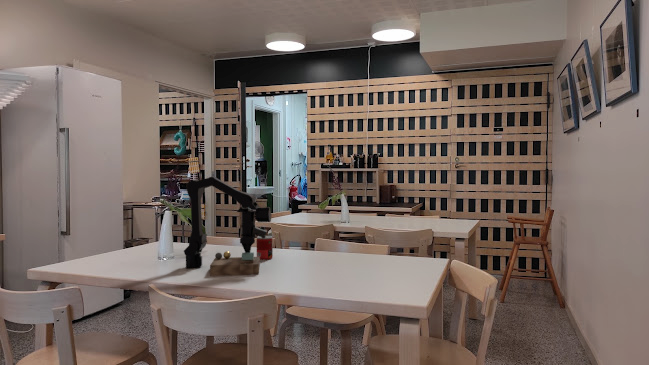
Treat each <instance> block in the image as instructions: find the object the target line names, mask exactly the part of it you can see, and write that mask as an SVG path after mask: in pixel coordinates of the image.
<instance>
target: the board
mask: <svg viewBox="0 0 649 365" xmlns="http://www.w3.org/2000/svg"><path fill="white" fill-rule="evenodd" d="M260 262H261V260H260V257H257V256H254V259H253V260H242V256H239V257H237V256H236V257H231V256H230V257H229V258H228V259H226V258H224V257H222V258H221V259H216V257H215V258H213V260H212V262H211V263H210V266H209V276H210V277H215V276H216V277H220V276H221V277H222V276H250V275H249V274H260V267H261V266H260V265H261V263H260Z"/></svg>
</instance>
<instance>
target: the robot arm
mask: <svg viewBox="0 0 649 365" xmlns="http://www.w3.org/2000/svg"><path fill="white" fill-rule="evenodd" d="M210 187H213V188H214V189H217V190H219V191H220V192H222V193H224V194H226V195H228V196H229V197H231V198H233V199H234V200H235V201H236V202H237V203H238V204H239V205H241V206H240V207H239V209H237V211H236V212H237V213H241V225H240V226H241V237H240V239H239V243H240V244H241V246H242V248H243V250H244V253H248V252H251V251H252V245H253V244H255V243H256V242H255V241H256V239H257V237H258V236H260V237H262V238H265V236H267V233H268V230H267V229H265V226H260V227H257V226H256V224H255V221H257V222H258V223H271V222H272V211H271V207H269V206H265V207H264V206H263V207H260V206H259V204H258V203H257V201H256V198H255V195H253V194H251V193H249V192H245V191H241V190H239V189H237V188H235V187H233V186H231V185H229V184H228V183H226V182H225V181H222V180H220V179H219V178H217V177H216V176H209V177H207V178H203V179H191V180H189V181H188V182H187V183H186V192H187V195H188V198H189V200H190V215H191V216H190V217H191V222H190V223H191V233H190V235H189V240H188V246H187V247H186V248H185V249H184V250H183V254H184V255H185V267H184V269H200V268H201V267H202V266H203V255H202V252H203V249H204V248H205V247H206V245H207V243H208V240H207V236H208V234H207V233H204V231H203V222H202V197H203V194H204V189H206V188H210Z"/></svg>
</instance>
